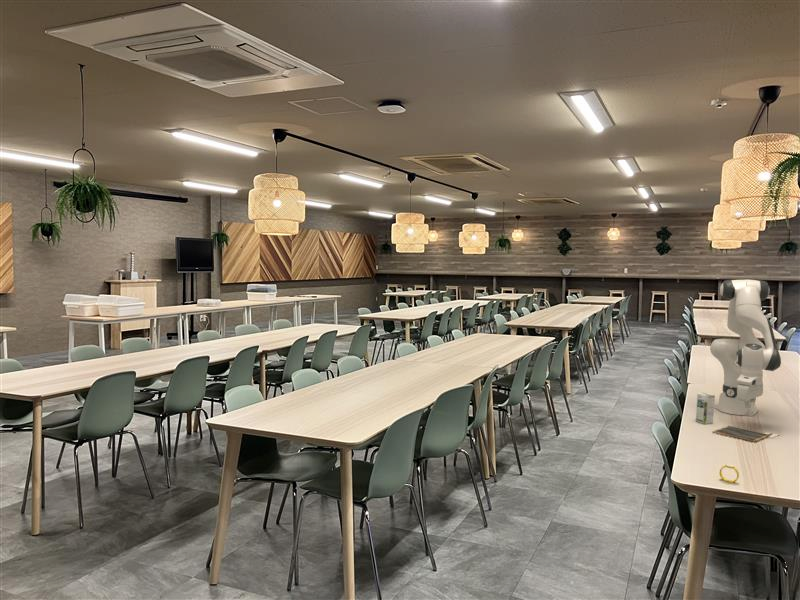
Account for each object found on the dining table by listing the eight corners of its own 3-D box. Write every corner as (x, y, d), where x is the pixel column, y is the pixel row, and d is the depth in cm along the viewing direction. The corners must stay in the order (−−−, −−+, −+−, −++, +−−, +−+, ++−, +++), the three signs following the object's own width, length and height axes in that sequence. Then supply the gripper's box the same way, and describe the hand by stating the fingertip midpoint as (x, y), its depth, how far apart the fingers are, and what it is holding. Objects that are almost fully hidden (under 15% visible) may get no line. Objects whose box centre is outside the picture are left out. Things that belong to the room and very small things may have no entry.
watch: (738, 482, 209) (740, 467, 208) (736, 485, 207) (739, 468, 206) (719, 477, 212) (722, 461, 212) (718, 479, 210) (720, 463, 210)
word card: (767, 432, 273) (767, 431, 273) (779, 435, 270) (779, 434, 269) (760, 435, 269) (760, 434, 269) (772, 438, 265) (772, 437, 265)
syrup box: (695, 421, 291) (696, 392, 290) (703, 420, 293) (705, 392, 292) (704, 424, 286) (706, 395, 285) (713, 423, 288) (715, 394, 287)
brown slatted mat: (728, 427, 281) (728, 425, 281) (770, 436, 267) (770, 434, 267) (712, 433, 271) (712, 430, 271) (754, 442, 257) (754, 440, 257)
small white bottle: (746, 414, 279) (747, 397, 278) (754, 415, 276) (755, 399, 275) (743, 415, 277) (744, 398, 276) (751, 417, 274) (752, 400, 273)
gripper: (753, 374, 284) (751, 402, 285) (735, 380, 271) (733, 409, 272) (767, 376, 279) (765, 405, 280) (749, 382, 266) (747, 412, 268)
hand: (749, 407), depth 276 cm, fingers closed on small white bottle, 3 cm apart
